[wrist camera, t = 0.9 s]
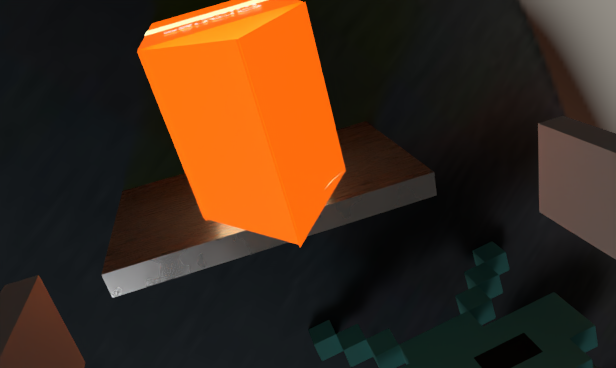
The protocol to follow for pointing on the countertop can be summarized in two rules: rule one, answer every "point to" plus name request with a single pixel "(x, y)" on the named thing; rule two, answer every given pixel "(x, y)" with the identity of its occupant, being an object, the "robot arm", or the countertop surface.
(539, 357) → the alien figure
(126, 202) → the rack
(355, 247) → the countertop surface
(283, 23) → the orange juice
